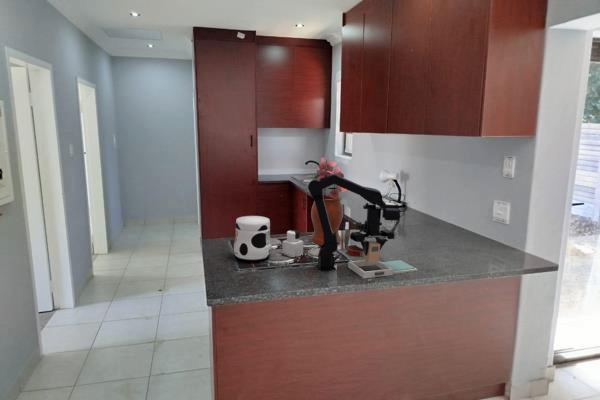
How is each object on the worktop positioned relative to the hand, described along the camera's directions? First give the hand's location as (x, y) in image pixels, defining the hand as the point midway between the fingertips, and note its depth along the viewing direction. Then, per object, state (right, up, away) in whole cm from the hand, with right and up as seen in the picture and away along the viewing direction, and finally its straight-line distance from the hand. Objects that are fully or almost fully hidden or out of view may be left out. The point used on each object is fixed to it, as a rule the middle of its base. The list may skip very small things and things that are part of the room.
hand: (371, 254), depth 174 cm
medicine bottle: (-34, -3, +19) cm, 39 cm away
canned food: (-3, -3, +25) cm, 25 cm away
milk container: (-52, -3, +14) cm, 54 cm away
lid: (+13, -7, +6) cm, 16 cm away
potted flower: (-17, +1, +44) cm, 47 cm away
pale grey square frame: (0, -7, +1) cm, 7 cm away
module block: (0, -3, 0) cm, 3 cm away
